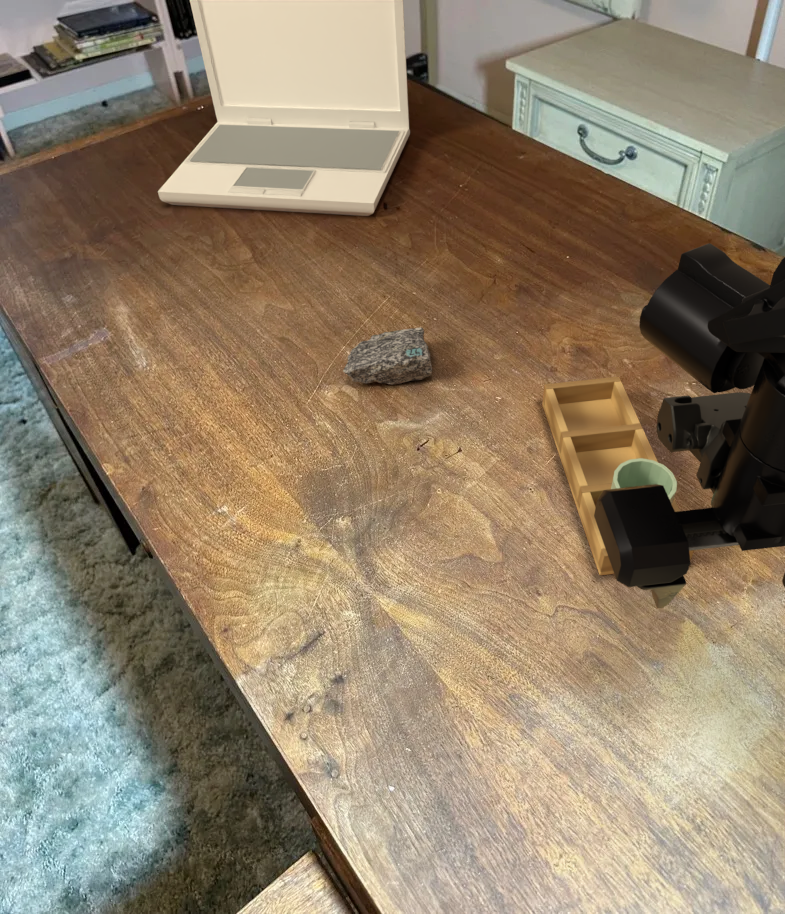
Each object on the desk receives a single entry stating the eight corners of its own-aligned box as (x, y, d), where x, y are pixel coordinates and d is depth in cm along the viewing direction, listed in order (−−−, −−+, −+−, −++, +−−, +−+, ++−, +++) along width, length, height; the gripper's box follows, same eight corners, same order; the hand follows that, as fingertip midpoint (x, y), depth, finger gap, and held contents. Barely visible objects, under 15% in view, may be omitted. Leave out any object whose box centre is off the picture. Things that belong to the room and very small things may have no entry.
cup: (669, 549, 70) (685, 500, 65) (611, 556, 70) (624, 507, 65) (650, 505, 73) (664, 455, 68) (595, 511, 73) (606, 461, 68)
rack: (688, 565, 69) (696, 545, 67) (599, 575, 69) (604, 556, 67) (615, 396, 85) (619, 375, 83) (542, 404, 85) (544, 384, 83)
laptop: (162, 207, 121) (101, 8, 101) (223, 133, 139) (181, -49, 118) (374, 219, 114) (356, 9, 94) (410, 140, 132) (401, -51, 111)
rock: (348, 349, 94) (344, 321, 91) (431, 345, 93) (430, 317, 90) (345, 390, 88) (341, 362, 85) (432, 386, 88) (432, 358, 85)
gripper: (883, 330, 48) (800, 493, 59) (586, 362, 47) (561, 520, 59) (996, 460, 40) (877, 618, 51) (644, 499, 40) (602, 649, 51)
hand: (722, 595), depth 53 cm, fingers open, 9 cm apart
